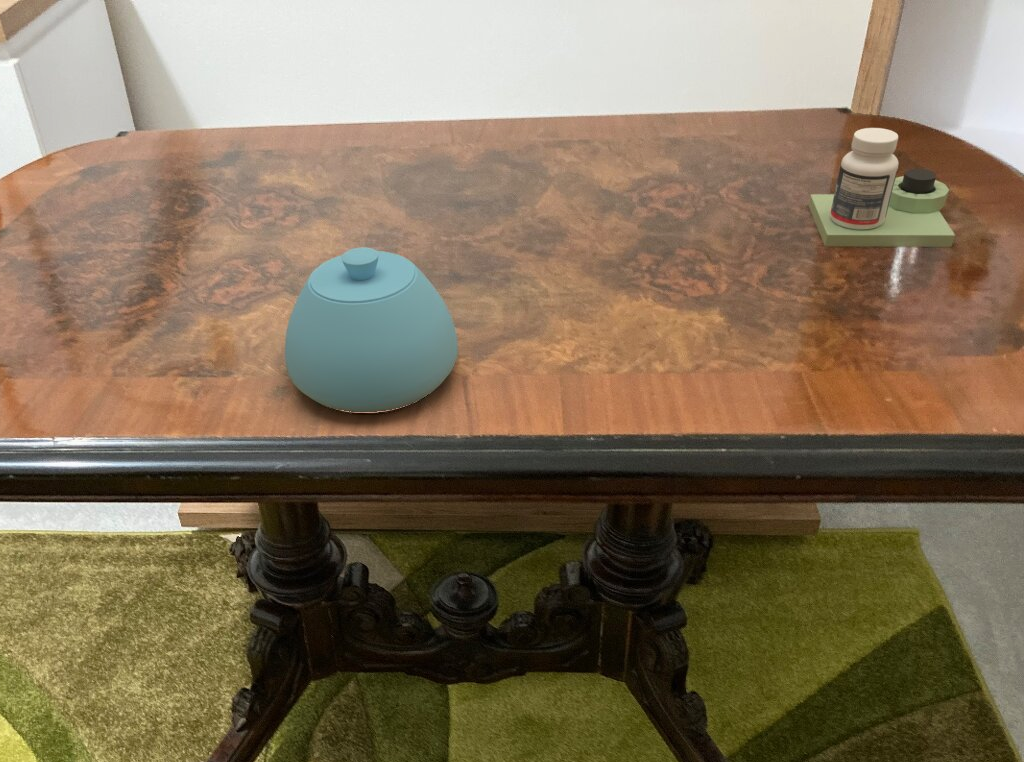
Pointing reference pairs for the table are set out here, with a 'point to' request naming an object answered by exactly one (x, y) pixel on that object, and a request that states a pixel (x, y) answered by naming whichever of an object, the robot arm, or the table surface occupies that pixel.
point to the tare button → (918, 181)
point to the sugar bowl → (369, 333)
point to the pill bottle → (866, 180)
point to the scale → (891, 221)
